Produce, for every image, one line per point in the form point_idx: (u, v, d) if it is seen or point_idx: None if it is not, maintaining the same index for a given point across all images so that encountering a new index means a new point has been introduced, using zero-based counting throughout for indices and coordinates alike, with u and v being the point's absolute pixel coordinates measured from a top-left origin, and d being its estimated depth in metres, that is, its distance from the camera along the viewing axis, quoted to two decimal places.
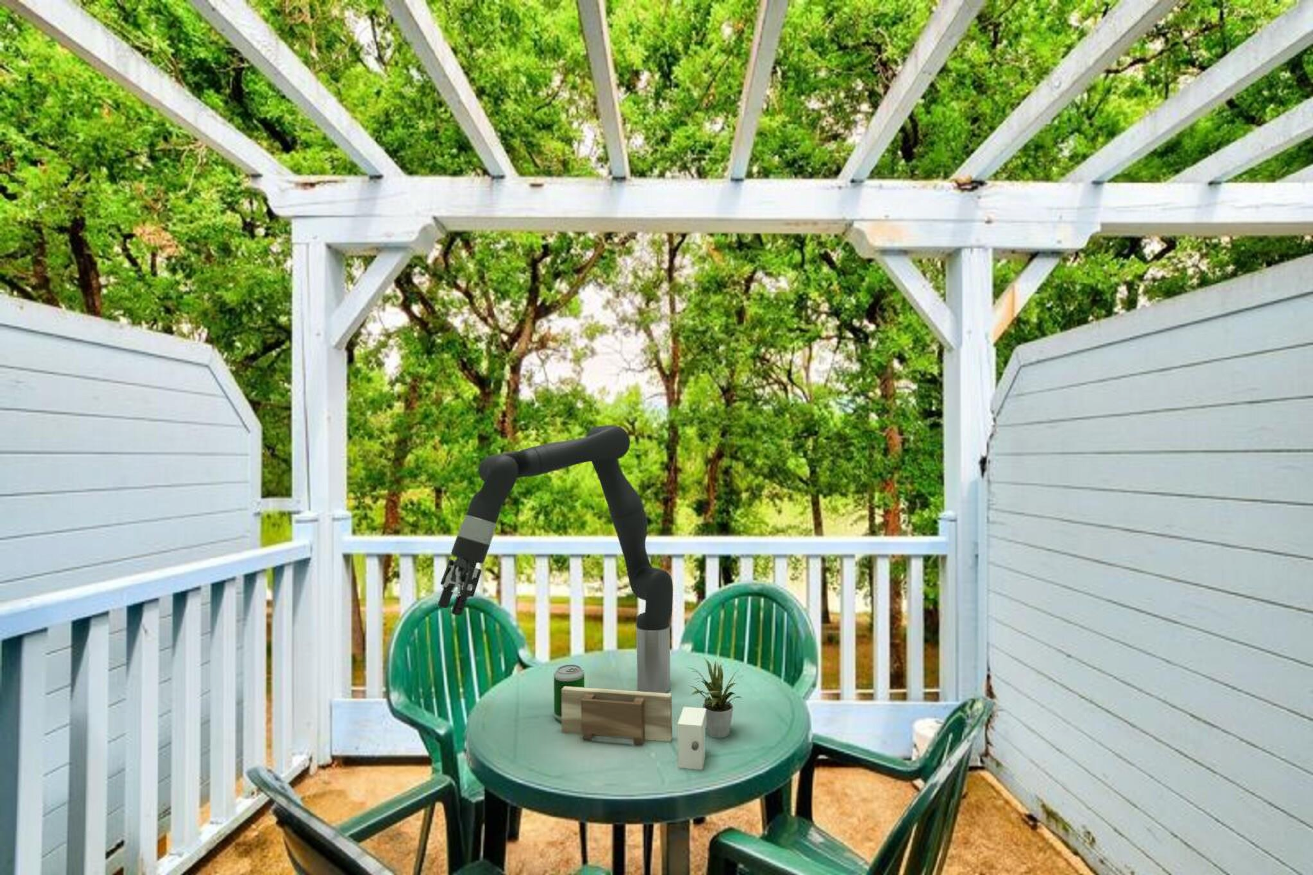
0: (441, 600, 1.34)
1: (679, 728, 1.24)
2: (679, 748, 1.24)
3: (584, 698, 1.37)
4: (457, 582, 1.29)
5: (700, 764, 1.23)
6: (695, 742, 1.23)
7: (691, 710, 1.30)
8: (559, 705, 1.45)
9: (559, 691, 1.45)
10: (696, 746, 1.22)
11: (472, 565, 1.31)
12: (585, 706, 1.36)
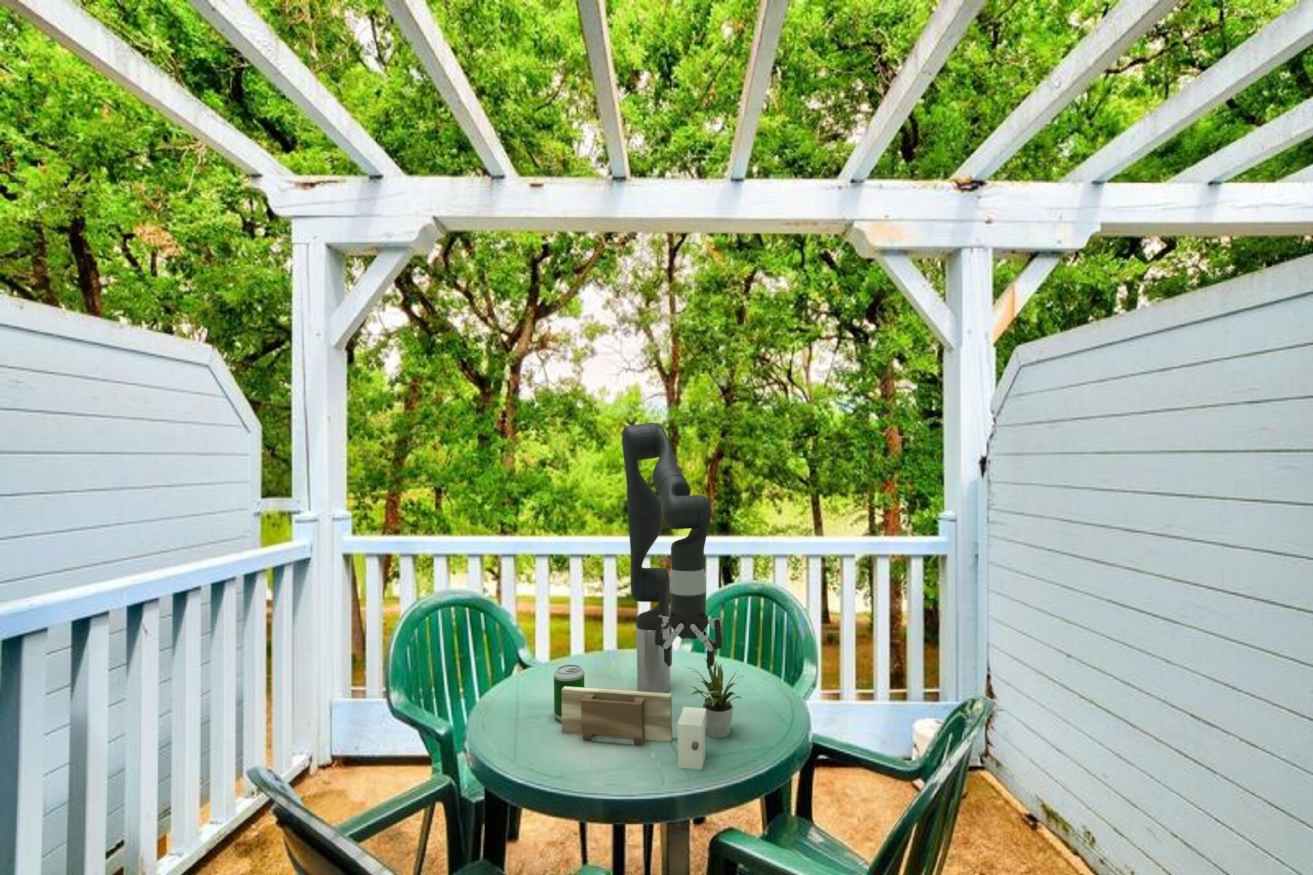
0: (670, 660, 1.26)
1: (679, 728, 1.24)
2: (679, 748, 1.24)
3: (584, 698, 1.37)
4: (703, 639, 1.24)
5: (700, 764, 1.23)
6: (695, 742, 1.23)
7: (691, 710, 1.30)
8: (559, 705, 1.45)
9: (559, 691, 1.45)
10: (696, 746, 1.22)
11: (705, 616, 1.26)
12: (585, 706, 1.36)
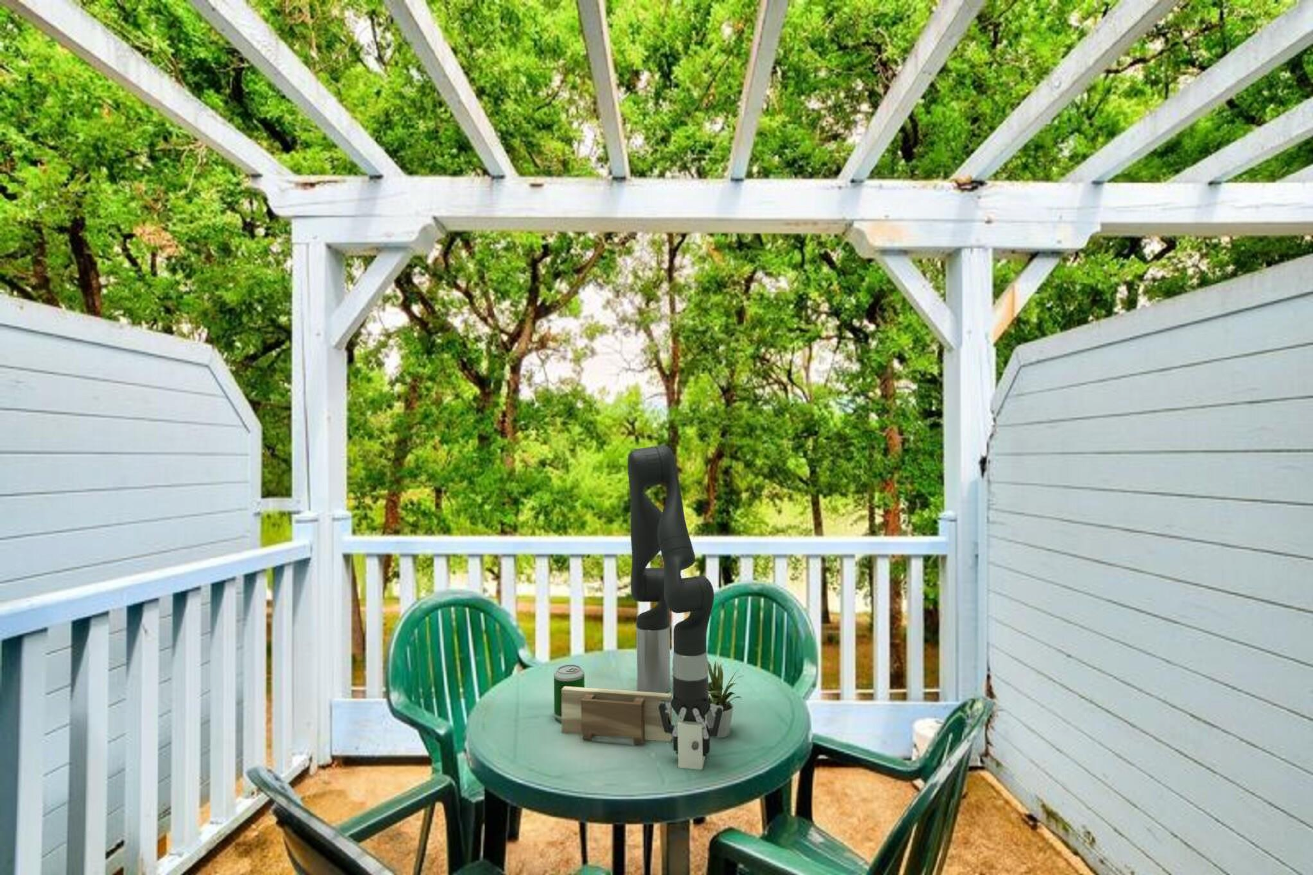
0: None
1: (679, 728, 1.24)
2: (679, 748, 1.24)
3: (584, 698, 1.37)
4: (702, 725, 1.24)
5: (700, 764, 1.23)
6: (695, 742, 1.23)
7: None
8: (559, 705, 1.45)
9: (559, 691, 1.45)
10: (696, 746, 1.22)
11: (708, 699, 1.26)
12: (585, 706, 1.36)
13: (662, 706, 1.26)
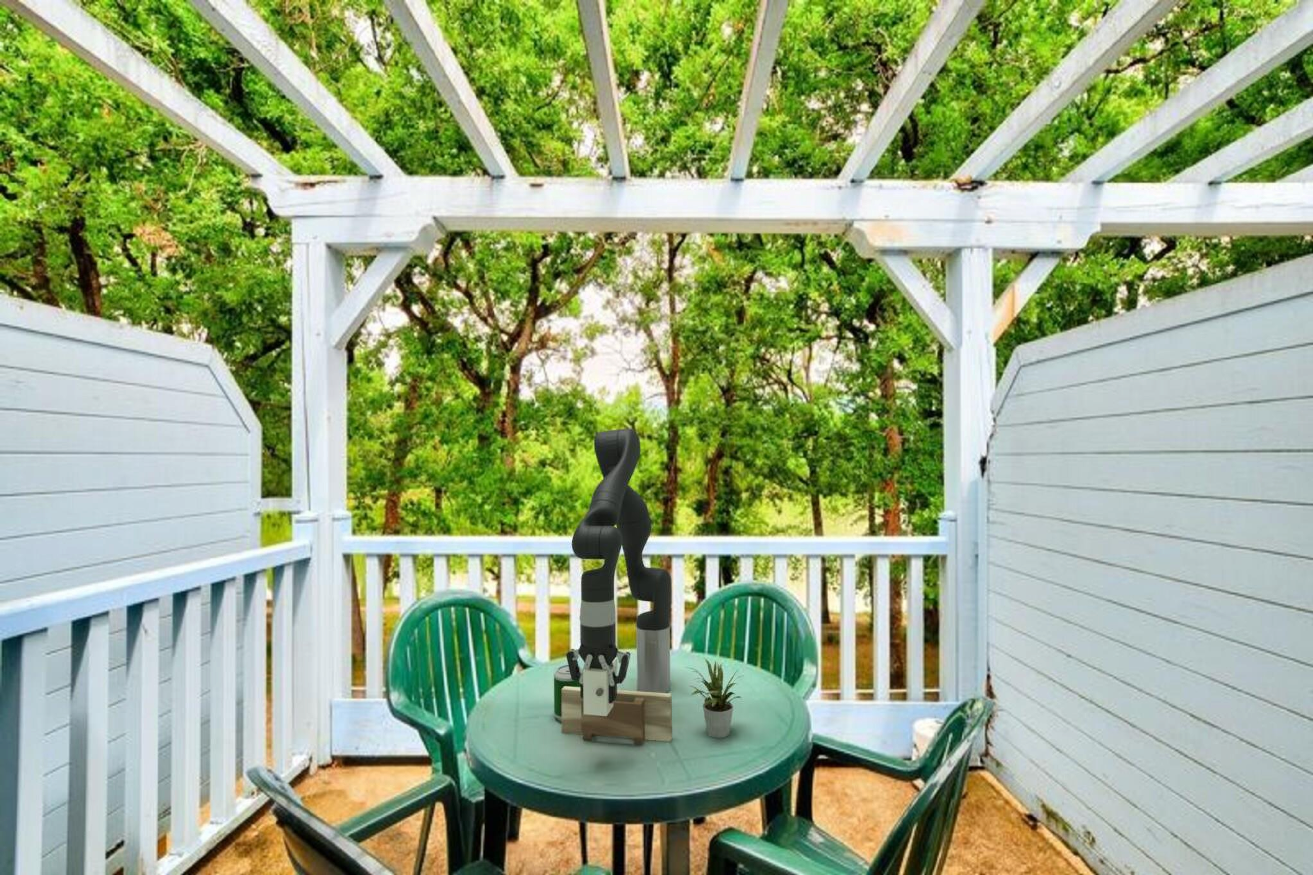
0: None
1: (585, 675, 1.24)
2: (585, 695, 1.24)
3: None
4: None
5: (605, 710, 1.23)
6: (600, 688, 1.23)
7: None
8: (559, 705, 1.45)
9: (559, 691, 1.45)
10: (600, 692, 1.22)
11: (615, 647, 1.26)
12: None
13: (569, 654, 1.26)
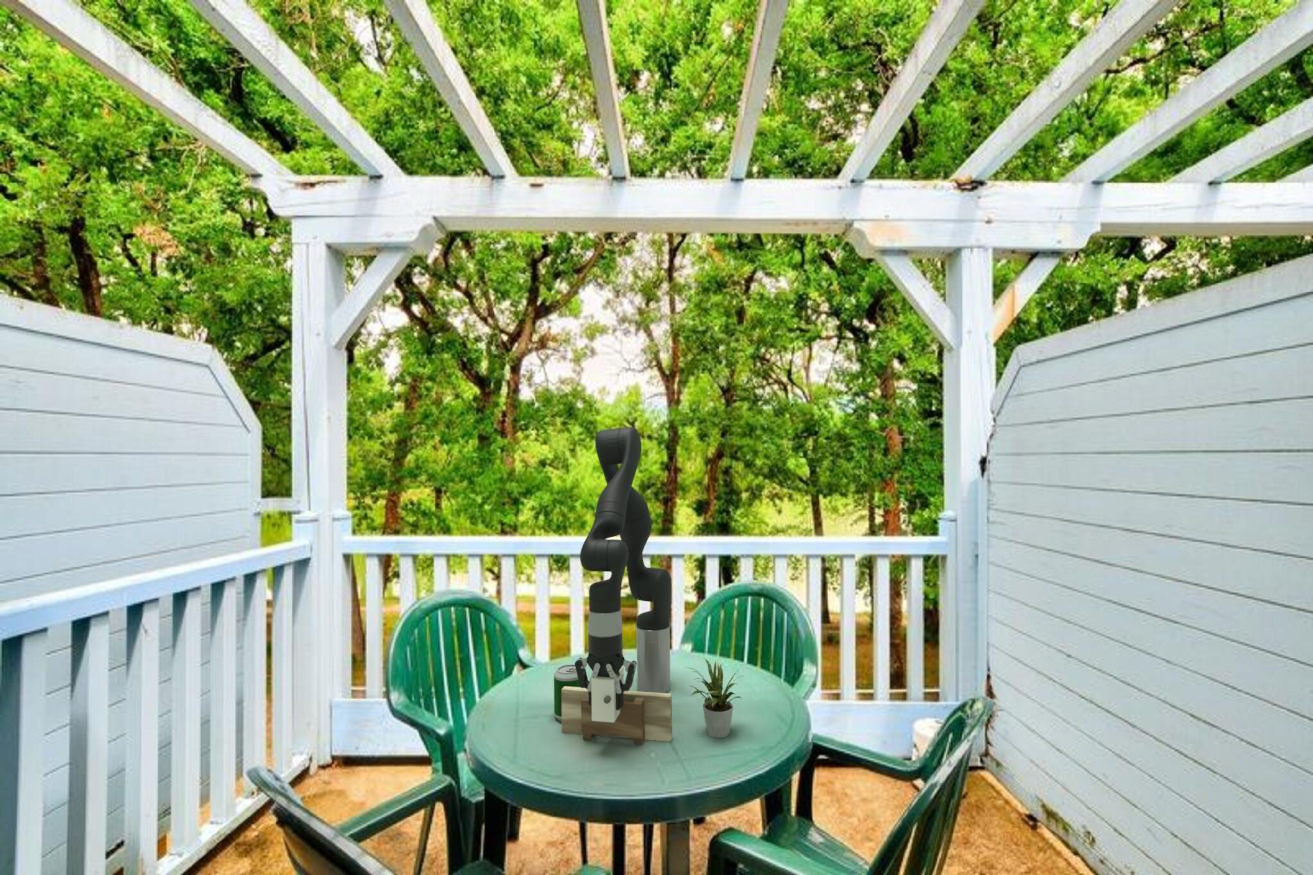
0: None
1: (593, 683, 1.29)
2: (593, 702, 1.29)
3: (584, 698, 1.37)
4: None
5: (612, 717, 1.28)
6: (607, 696, 1.28)
7: None
8: (559, 705, 1.45)
9: (559, 691, 1.45)
10: (608, 699, 1.28)
11: (622, 656, 1.31)
12: (585, 706, 1.36)
13: (578, 662, 1.31)
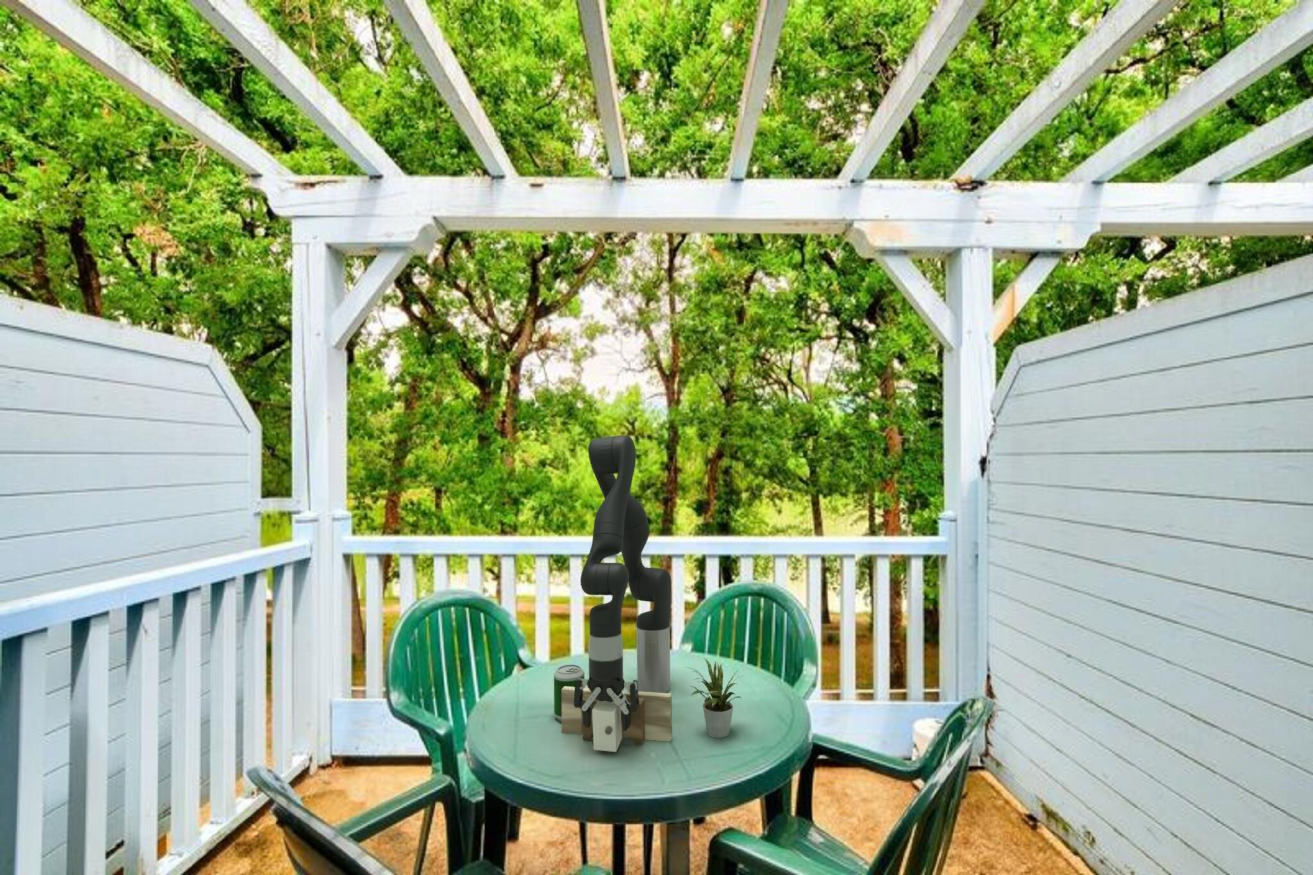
0: (588, 722, 1.31)
1: (594, 714, 1.29)
2: (594, 732, 1.30)
3: (584, 698, 1.37)
4: (619, 702, 1.29)
5: (614, 746, 1.29)
6: (608, 727, 1.28)
7: None
8: (559, 705, 1.45)
9: (559, 691, 1.45)
10: (609, 731, 1.28)
11: (622, 679, 1.31)
12: None
13: (578, 682, 1.31)
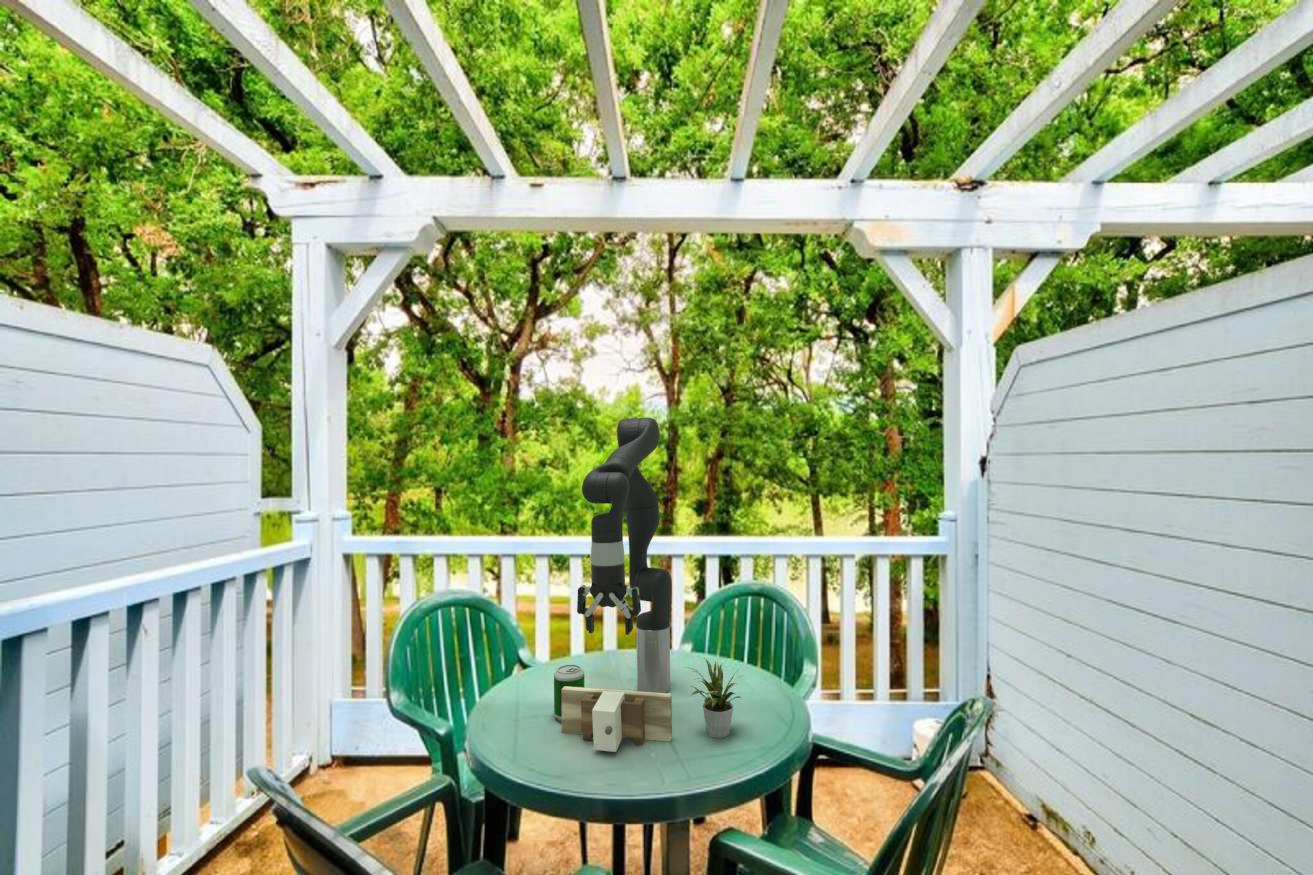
0: (591, 627, 1.34)
1: (594, 714, 1.29)
2: (594, 732, 1.30)
3: (584, 698, 1.37)
4: (621, 606, 1.32)
5: (614, 746, 1.29)
6: (608, 727, 1.28)
7: (609, 695, 1.35)
8: (559, 705, 1.45)
9: (559, 691, 1.45)
10: (609, 731, 1.28)
11: (624, 585, 1.33)
12: (585, 706, 1.36)
13: (581, 589, 1.34)
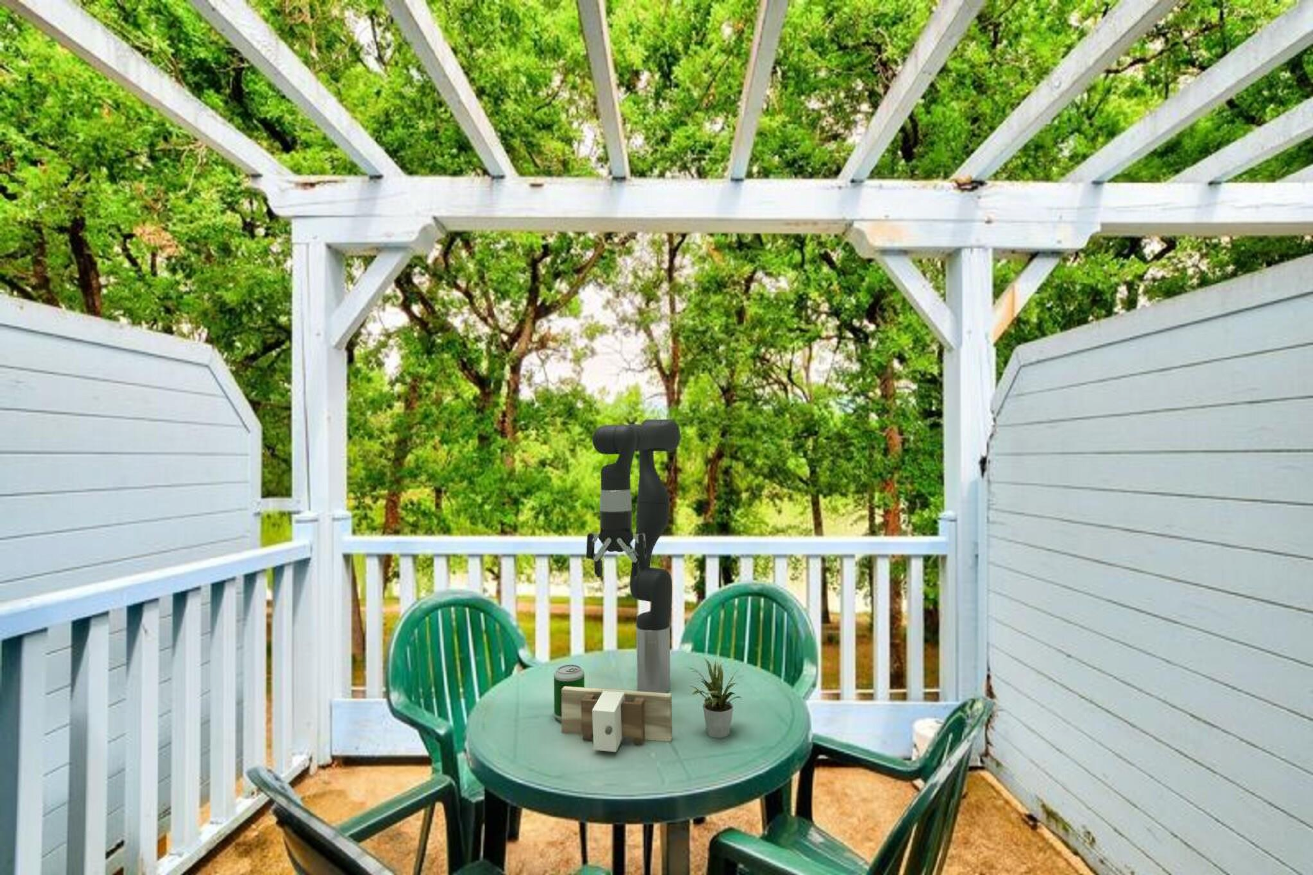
0: (599, 571, 1.41)
1: (594, 714, 1.29)
2: (594, 732, 1.30)
3: (584, 698, 1.37)
4: (628, 551, 1.39)
5: (614, 746, 1.29)
6: (608, 727, 1.28)
7: (609, 695, 1.35)
8: (559, 705, 1.45)
9: (559, 691, 1.45)
10: (609, 731, 1.28)
11: (631, 532, 1.41)
12: (585, 706, 1.36)
13: (590, 535, 1.42)
